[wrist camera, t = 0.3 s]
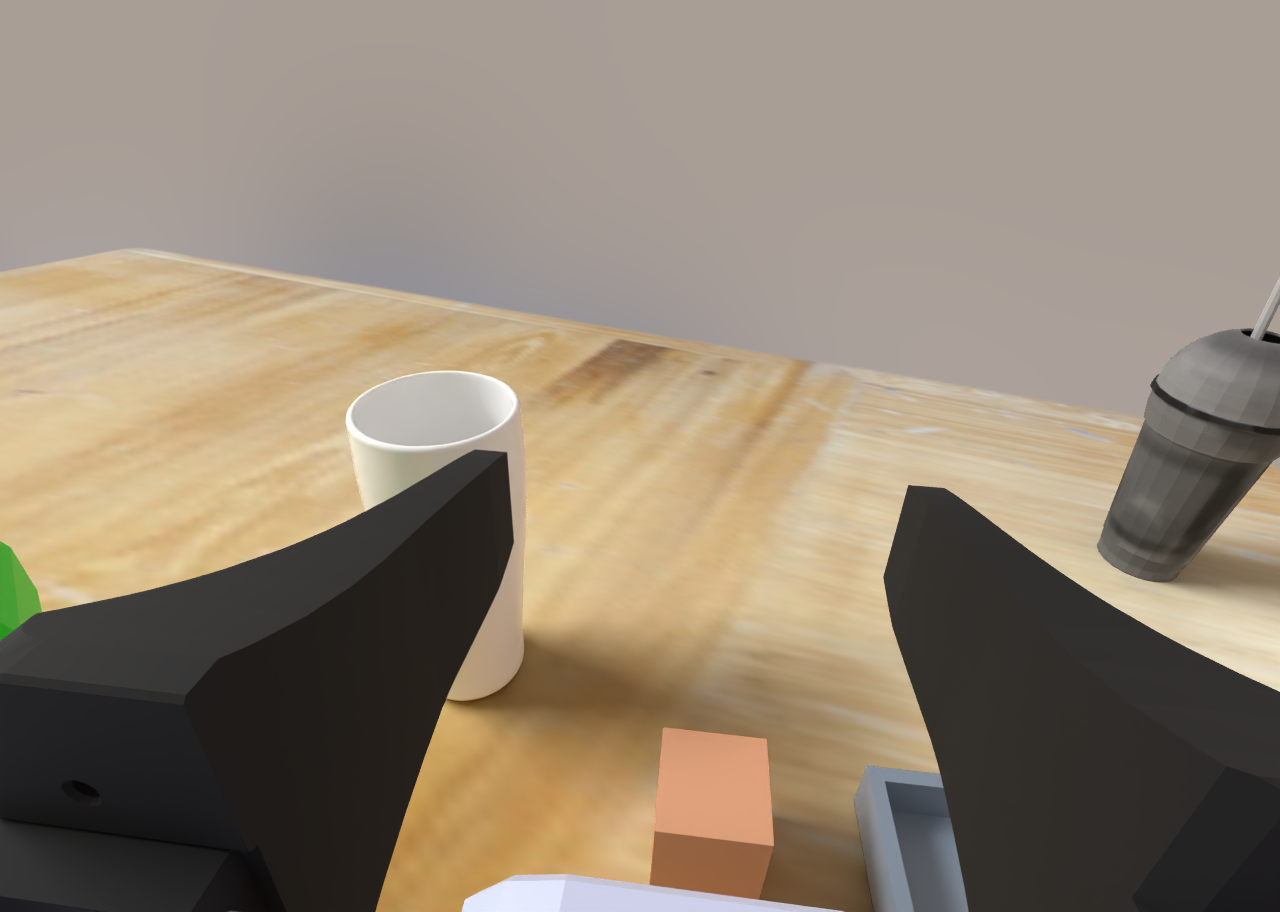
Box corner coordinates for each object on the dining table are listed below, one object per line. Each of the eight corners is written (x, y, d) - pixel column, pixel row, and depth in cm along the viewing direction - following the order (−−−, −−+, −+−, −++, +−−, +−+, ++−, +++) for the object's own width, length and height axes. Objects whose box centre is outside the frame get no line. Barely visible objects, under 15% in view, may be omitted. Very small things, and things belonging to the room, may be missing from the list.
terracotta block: (754, 916, 25) (774, 845, 22) (647, 902, 25) (654, 831, 22) (750, 810, 28) (766, 738, 25) (656, 799, 28) (663, 726, 26)
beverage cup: (1092, 583, 41) (1270, 260, 30) (1060, 514, 47) (1199, 225, 36) (1226, 608, 39) (1463, 278, 29) (1175, 534, 45) (1356, 239, 35)
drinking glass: (538, 609, 37) (522, 366, 29) (539, 712, 32) (521, 446, 23) (413, 619, 36) (362, 370, 28) (393, 727, 31) (321, 454, 23)
